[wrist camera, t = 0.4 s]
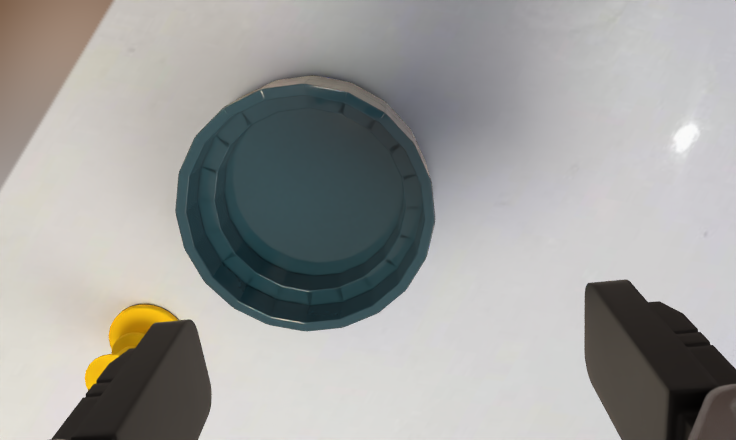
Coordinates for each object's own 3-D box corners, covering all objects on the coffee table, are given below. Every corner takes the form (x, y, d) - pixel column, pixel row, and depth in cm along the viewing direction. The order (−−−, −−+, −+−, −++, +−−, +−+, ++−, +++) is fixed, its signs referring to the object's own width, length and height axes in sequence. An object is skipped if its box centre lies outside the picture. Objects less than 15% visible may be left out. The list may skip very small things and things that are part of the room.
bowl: (179, 91, 36) (148, 103, 31) (415, 61, 35) (420, 68, 30) (227, 304, 40) (206, 342, 36) (437, 281, 40) (445, 317, 35)
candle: (202, 345, 42) (103, 527, 27) (147, 382, 43) (23, 577, 28) (151, 289, 40) (17, 448, 26) (96, 329, 41) (-63, 504, 27)
